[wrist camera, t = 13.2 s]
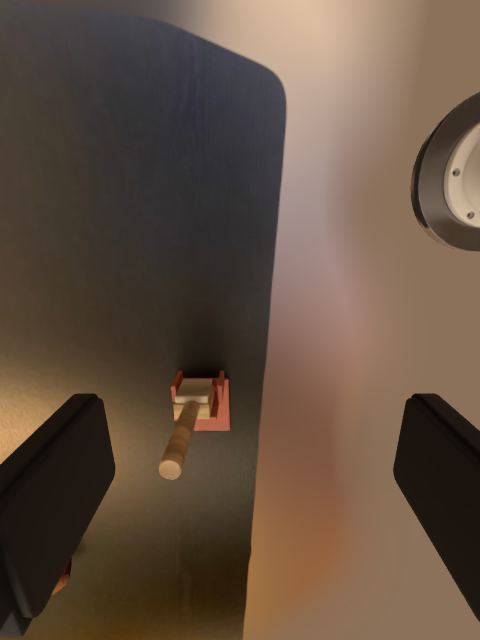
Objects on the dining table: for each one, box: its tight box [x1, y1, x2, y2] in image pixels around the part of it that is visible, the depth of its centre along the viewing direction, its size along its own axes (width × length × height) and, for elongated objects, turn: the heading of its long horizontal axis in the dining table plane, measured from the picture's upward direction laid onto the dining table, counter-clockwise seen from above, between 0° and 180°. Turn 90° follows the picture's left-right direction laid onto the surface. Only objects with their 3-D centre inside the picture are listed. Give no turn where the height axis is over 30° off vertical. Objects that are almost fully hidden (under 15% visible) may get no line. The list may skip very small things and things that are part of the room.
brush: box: [159, 379, 215, 479], centre depth 32 cm, size 15×4×3 cm
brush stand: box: [171, 371, 230, 431], centre depth 40 cm, size 10×8×7 cm
